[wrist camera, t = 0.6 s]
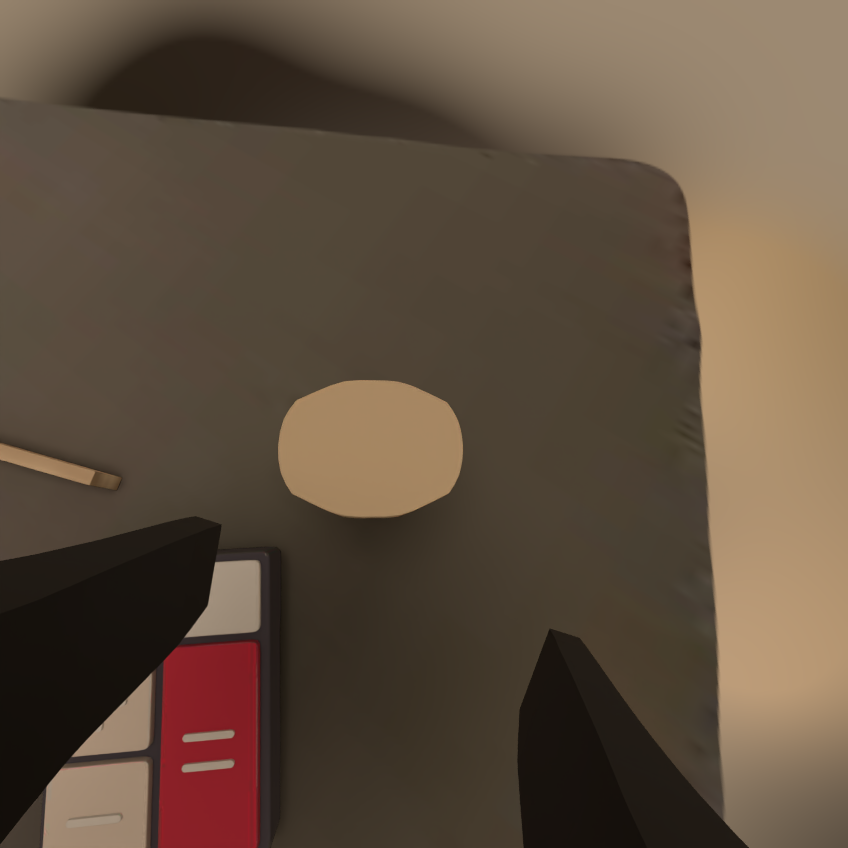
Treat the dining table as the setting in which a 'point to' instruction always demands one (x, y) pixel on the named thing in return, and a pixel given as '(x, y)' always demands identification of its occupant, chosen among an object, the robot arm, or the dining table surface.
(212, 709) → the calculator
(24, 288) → the dining table surface
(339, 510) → the handle
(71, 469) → the box
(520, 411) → the dining table surface
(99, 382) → the dining table surface
